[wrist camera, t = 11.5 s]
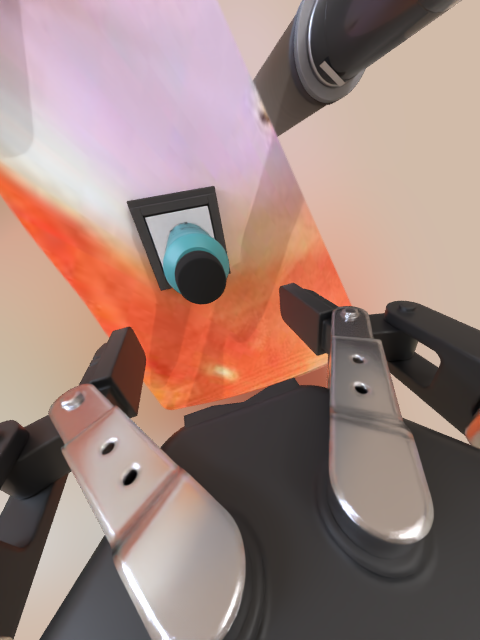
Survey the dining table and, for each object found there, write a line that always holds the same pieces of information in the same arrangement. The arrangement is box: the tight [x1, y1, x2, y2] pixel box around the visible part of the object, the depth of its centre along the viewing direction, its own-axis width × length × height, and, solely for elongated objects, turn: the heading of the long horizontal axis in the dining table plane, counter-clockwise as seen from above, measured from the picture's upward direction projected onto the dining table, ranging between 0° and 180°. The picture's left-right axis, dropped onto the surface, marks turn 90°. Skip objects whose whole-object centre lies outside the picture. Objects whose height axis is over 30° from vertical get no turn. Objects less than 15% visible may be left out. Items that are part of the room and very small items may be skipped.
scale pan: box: [145, 206, 214, 266], centre depth 33 cm, size 9×9×2 cm
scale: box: [127, 186, 230, 291], centre depth 34 cm, size 14×13×3 cm
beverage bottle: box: [163, 222, 229, 304], centre depth 24 cm, size 6×7×20 cm
